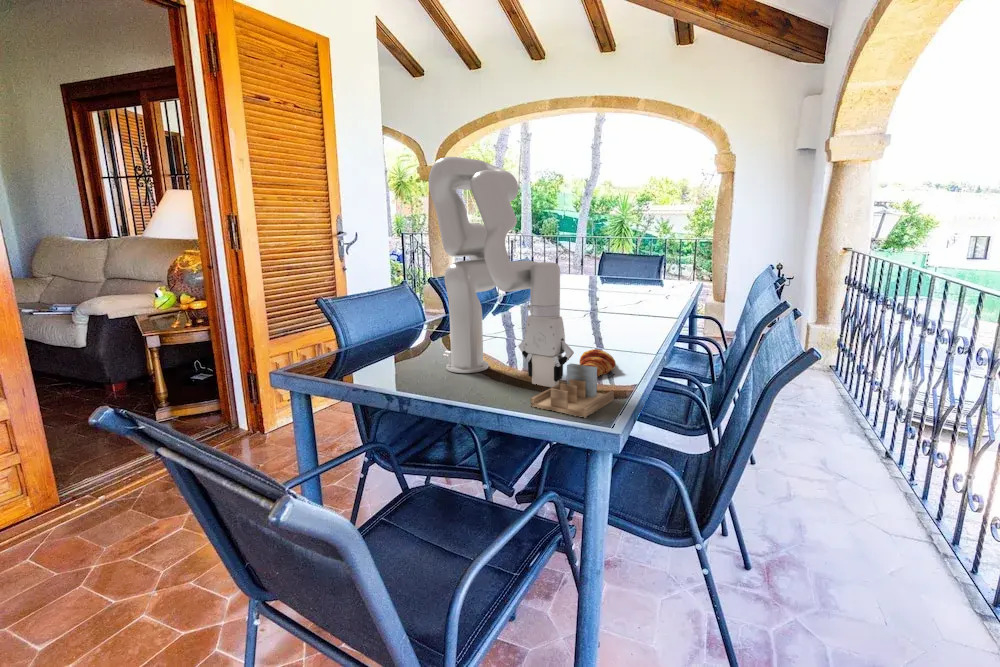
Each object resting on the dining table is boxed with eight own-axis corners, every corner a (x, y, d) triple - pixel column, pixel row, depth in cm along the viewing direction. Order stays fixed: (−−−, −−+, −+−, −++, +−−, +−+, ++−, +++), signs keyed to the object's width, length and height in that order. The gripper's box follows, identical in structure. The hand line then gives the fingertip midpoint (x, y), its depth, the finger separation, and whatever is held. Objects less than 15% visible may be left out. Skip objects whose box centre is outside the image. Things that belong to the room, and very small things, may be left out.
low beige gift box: (532, 383, 139) (531, 354, 138) (535, 381, 141) (535, 353, 139) (554, 388, 135) (554, 358, 134) (558, 386, 137) (558, 356, 135)
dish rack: (530, 406, 122) (530, 373, 120) (562, 389, 134) (562, 359, 132) (585, 418, 114) (585, 383, 112) (613, 399, 125) (614, 367, 124)
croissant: (597, 372, 162) (586, 348, 162) (627, 359, 157) (615, 336, 158) (576, 390, 143) (563, 363, 144) (608, 377, 139) (595, 349, 139)
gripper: (508, 310, 136) (510, 376, 140) (568, 316, 126) (567, 386, 130) (524, 306, 142) (525, 369, 146) (582, 311, 132) (581, 379, 136)
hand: (545, 377), depth 138 cm, fingers closed on low beige gift box, 7 cm apart
